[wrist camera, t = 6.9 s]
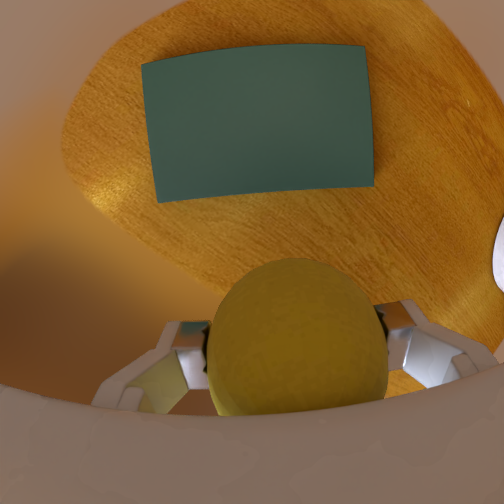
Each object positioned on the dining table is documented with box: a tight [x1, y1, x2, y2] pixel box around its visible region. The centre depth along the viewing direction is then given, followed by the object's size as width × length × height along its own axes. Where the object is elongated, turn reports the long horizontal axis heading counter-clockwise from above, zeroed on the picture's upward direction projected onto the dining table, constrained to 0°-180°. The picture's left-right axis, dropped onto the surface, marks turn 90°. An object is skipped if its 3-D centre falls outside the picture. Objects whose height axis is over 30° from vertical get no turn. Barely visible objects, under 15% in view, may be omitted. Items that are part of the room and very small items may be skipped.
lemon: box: [207, 258, 388, 416], centre depth 9 cm, size 6×6×8 cm
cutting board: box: [141, 44, 374, 203], centre depth 22 cm, size 18×12×2 cm, turn 95°
